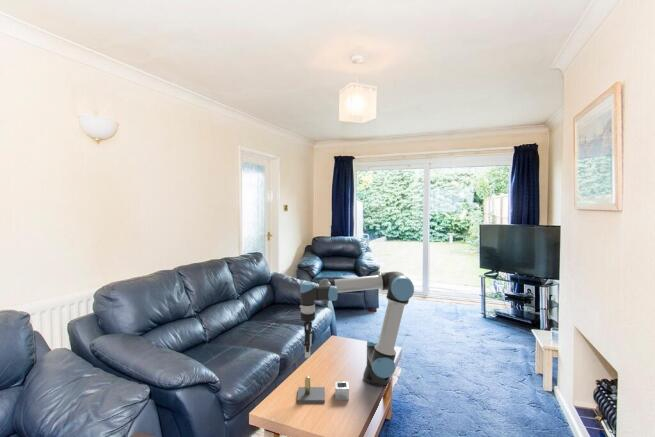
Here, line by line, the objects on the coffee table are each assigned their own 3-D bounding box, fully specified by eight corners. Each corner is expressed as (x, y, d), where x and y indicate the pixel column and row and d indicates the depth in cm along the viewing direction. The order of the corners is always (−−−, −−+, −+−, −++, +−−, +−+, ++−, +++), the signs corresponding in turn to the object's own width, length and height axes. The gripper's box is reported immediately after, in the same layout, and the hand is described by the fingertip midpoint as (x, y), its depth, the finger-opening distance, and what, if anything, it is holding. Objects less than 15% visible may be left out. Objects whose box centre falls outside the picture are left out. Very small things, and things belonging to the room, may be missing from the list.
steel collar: (347, 392, 182) (348, 381, 182) (348, 400, 175) (349, 388, 175) (334, 392, 182) (335, 381, 182) (335, 400, 175) (335, 388, 175)
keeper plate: (324, 389, 185) (324, 387, 185) (324, 402, 173) (324, 400, 173) (298, 389, 185) (298, 387, 184) (297, 402, 173) (297, 400, 172)
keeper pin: (310, 391, 180) (310, 375, 179) (310, 394, 177) (310, 378, 177) (305, 391, 180) (305, 375, 179) (304, 394, 177) (304, 378, 177)
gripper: (302, 304, 191) (302, 341, 192) (298, 320, 166) (299, 362, 167) (315, 304, 191) (316, 341, 192) (314, 320, 166) (314, 362, 167)
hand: (308, 351), depth 180 cm, fingers open, 13 cm apart
